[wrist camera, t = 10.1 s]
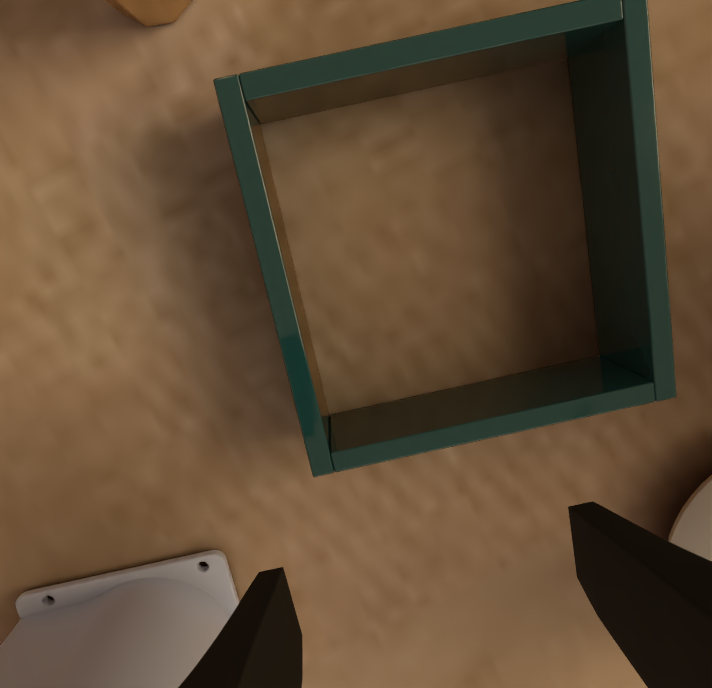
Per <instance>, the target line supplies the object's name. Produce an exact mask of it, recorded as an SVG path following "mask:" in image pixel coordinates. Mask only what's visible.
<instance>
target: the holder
mask: <svg viewBox="0 0 712 688" xmlns="http://www.w3.org/2000/svg"><path fill="white" fill-rule="evenodd" d="M567 57H568V64H569V73H570V83H571V92H572V101H573V111H574V120H575V129H576V139H577V148H578V157H579V167H580V176H581V185H582V195H583V204H584V213H585V222H586V232H587V241H588V250H589V260H590V269H591V278H592V288H593V297H594V306H595V316H596V325H597V334H598V344H599V353H600V356H596V357H591V358H587V359H582V360H578V361H573V362H569V363H564V364H560V365H555V366H550V367H546V368H541V369H537V370H532V371H528V372H523V373H519V374H514V375H510V376H505V377H500V378H496V379H491V380H487V381H482V382H478V383H473V384H469V385H464V386H460V387H455V388H450V389H446V390H441V391H437V392H432V393H428V394H423V395H419V396H414V397H410V398H405V399H400V400H396V401H391V402H387V403H382V404H378V405H373V406H369V407H364V408H360V409H355V410H350V411H346V412H341V413H337V414H332V415H330V416H329V412H328V408H327V404H326V399H325V395H324V391H323V387H322V383H321V378H320V374H319V370H318V366H317V361H316V357H315V353H314V349H313V345H312V340H311V336H310V332H309V328H308V324H307V319H306V315H305V311H304V307H303V302H302V298H301V294H300V290H299V286H298V281H297V277H296V273H295V269H294V265H293V260H292V256H291V252H290V248H289V243H288V239H287V235H286V231H285V227H284V222H283V218H282V214H281V210H280V206H279V201H278V197H277V193H276V189H275V184H274V180H273V176H272V172H271V168H270V163H269V159H268V155H267V151H266V147H265V142H264V138H263V134H262V130H261V125H260V124H264V123H269V122H273V121H278V120H283V119H287V118H292V117H297V116H301V115H306V114H310V113H315V112H320V111H324V110H329V109H334V108H338V107H343V106H347V105H352V104H357V103H361V102H366V101H371V100H375V99H380V98H385V97H389V96H394V95H398V94H403V93H408V92H412V91H417V90H422V89H426V88H431V87H435V86H440V85H445V84H449V83H454V82H459V81H463V80H468V79H472V78H477V77H482V76H486V75H491V74H496V73H500V72H505V71H509V70H514V69H519V68H523V67H528V66H533V65H537V64H542V63H547V62H551V61H556V60H560V59H565V58H567ZM213 82H214V86H215V90H216V94H217V98H218V102H219V106H220V110H221V114H222V118H223V122H224V126H225V130H226V134H227V138H228V142H229V146H230V150H231V154H232V158H233V162H234V165H235V169H236V173H237V177H238V181H239V185H240V189H241V193H242V197H243V201H244V205H245V209H246V213H247V217H248V221H249V225H250V229H251V233H252V237H253V241H254V245H255V249H256V253H257V257H258V261H259V265H260V269H261V273H262V276H263V280H264V284H265V288H266V292H267V296H268V300H269V304H270V308H271V312H272V316H273V320H274V324H275V328H276V332H277V336H278V340H279V344H280V348H281V352H282V356H283V360H284V364H285V368H286V372H287V376H288V380H289V384H290V387H291V391H292V395H293V399H294V403H295V407H296V411H297V415H298V419H299V423H300V427H301V431H302V435H303V439H304V443H305V447H306V451H307V455H308V459H309V463H310V467H311V471H312V475H313V477H317V476H322V475H326V474H331V473H334V471H335V472H339V471H344V470H348V469H353V468H358V467H362V466H367V465H371V464H376V463H380V462H385V461H389V460H394V459H398V458H403V457H407V456H412V455H416V454H421V453H426V452H430V451H435V450H439V449H444V448H448V447H453V446H457V445H462V444H466V443H471V442H475V441H480V440H484V439H489V438H494V437H498V436H503V435H507V434H512V433H516V432H521V431H525V430H530V429H534V428H539V427H543V426H548V425H552V424H557V423H561V422H566V421H571V420H575V419H580V418H584V417H589V416H593V415H598V414H602V413H607V412H611V411H616V410H620V409H625V408H629V407H634V406H639V405H643V404H648V403H652V402H655V401H662V400H666V399H671V398H675V397H676V396H677V394H676V381H675V367H674V354H673V340H672V326H671V313H670V299H669V286H668V272H667V258H666V245H665V231H664V218H663V204H662V191H661V177H660V163H659V150H658V136H657V123H656V109H655V95H654V82H653V68H652V55H651V41H650V27H649V14H648V0H579V1H574V2H570V3H565V4H560V5H556V6H551V7H546V8H542V9H537V10H532V11H528V12H523V13H518V14H514V15H509V16H505V17H500V18H495V19H491V20H486V21H481V22H477V23H472V24H467V25H463V26H458V27H453V28H449V29H444V30H440V31H435V32H430V33H426V34H421V35H416V36H412V37H407V38H402V39H398V40H393V41H388V42H384V43H379V44H374V45H370V46H365V47H361V48H356V49H351V50H347V51H342V52H337V53H333V54H328V55H323V56H319V57H314V58H309V59H305V60H300V61H296V62H291V63H286V64H282V65H277V66H272V67H268V68H263V69H258V70H254V71H249V72H244V73H240V74H239V76H238V75H237V74H235V75H231V76H226V77H221V78H217V79H214V81H213Z"/></svg>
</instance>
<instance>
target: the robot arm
mask: <svg viewBox="0 0 712 688" xmlns="http://www.w3.org/2000/svg"><path fill="white" fill-rule="evenodd" d="M568 509H569V517H570V525H571V533H572V541H573V549H574V557H575V565H576V573H577V578H578V580H579V582H580V584H581V586H582V588H583V589H584V591H585V593H586V595H587V597H588V599H589V601H590V603H591V604H592V606H593V608H594V610H595V612H596V614H597V615H598V617H599V618H600V620H601V621H602V623H603V624H604V626H605V627H606V629H607V630H608V631H609V633H610V634H611V636H612V637H613V639H614V640H615V642H616V643H617V644H618V646H619V647H620V649H621V650H622V652H623V653H624V654H625V656H626V657H627V659H628V660H629V662H630V663H631V664H632V666H633V667H634V669H635V670H636V671H637V673H638V674H639V676H640V677H641V679H642V680H643V681H644V683H645V684H646V686H647V687H648V688H712V561H710V560H708V559H705V558H703V557H701V556H699V555H697V554H694V553H692V552H690V551H688V550H686V549H683V548H681V547H679V546H677V545H675V544H673V543H671V542H669V541H667V540H665V539H663V538H661V537H659V536H657V535H655V534H653V533H651V532H649V531H647V530H646V529H644V528H642V527H640V526H638V525H636V524H634V523H632V522H630V521H629V520H627V519H625V518H623V517H621V516H619V515H617V514H616V513H614V512H612V511H610V510H608V509H606V508H604V507H603V506H601V505H599V504H597V503H595V502H588V503H583V504H579V505H574V506H569V507H568ZM199 562H206V563H207V564H208V566H202V565H200V564H199ZM47 596H51V597H53V599H54V600H51V599H49V598H48V597H47ZM15 605H16V609H17V611H18V614H19V616H20V618H21V619H20V621H19V622H18V623H17V625H16V626H15V627H14V628H13V630H12V631H11V632H10V634H9V635H8V636H7V637H6V639H5V640H4V641H3V643H2V644H1V645H0V688H301V687H302V633H301V629H300V626H299V622H298V619H297V615H296V611H295V608H294V604H293V601H292V597H291V594H290V590H289V587H288V583H287V580H286V576H285V572H284V569H283V567H281V568H276V569H272V570H267V571H262V572H259V573H258V575H257V576H256V577H255V579H254V581H253V582H252V584H251V585H250V587H249V588H248V590H247V591H246V593H245V595H244V596H243V598H242V599H241V601H239V598H238V595H237V591H236V588H235V585H234V582H233V578H232V575H231V572H230V568H229V565H228V562H227V559H226V556H225V554H224V553H223V552H221V551H219V550H210V551H205V552H201V553H196V554H192V555H187V556H183V557H178V558H174V559H169V560H165V561H160V562H156V563H151V564H147V565H142V566H137V567H133V568H128V569H124V570H119V571H115V572H110V573H106V574H101V575H97V576H92V577H88V578H83V579H79V580H74V581H70V582H65V583H61V584H56V585H52V586H47V587H43V588H38V589H34V590H29V591H26V592H23V593H22V594H21V595H20V596H19V597H18V599H17V600H16V603H15Z"/></svg>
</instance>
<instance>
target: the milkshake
mask: <svg viewBox="0 0 712 688" xmlns="http://www.w3.org/2000/svg"><path fill="white" fill-rule="evenodd" d="M104 1H105V2H107V3H108V4H109V5H111V6H112V7H113V8H114V9H116V10H117V11H118V12H120V13H122V14H124V15H126V16H128V17H130V18H132V19H133V20H135V21H137V22H139V23H141V24H143V25H145V26H147V27H149V26H154V25H160V24H166V23H172V22H175V21H176V20H177V19H178V18H179V16H180V15H181V14H182V13H183V11H184V10H185V9H186V8H187V7H188V5H189V4H190V3H191V2H192V1H193V0H104Z"/></svg>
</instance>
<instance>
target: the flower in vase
mask: <svg viewBox="0 0 712 688" xmlns="http://www.w3.org/2000/svg"><path fill="white" fill-rule="evenodd" d="M668 541H669V542H671V543H673V544H675V545H677V546H679V547H681V548H683V549H686V550H688V551H690V552H692V553H694V554H697V555H699V556H701V557H703V558H705V559H708V560H710V561H712V475H711V476H710V477H708V478H707V479H706V480H705V481H704V482H703V483H702V484H701V485H700V486H699V487H698V488H697V489H696V490H695V492H694V493H693V494H692V495H691V496H690V498H689V499H688V500H687V502H686V503H685V505H684V506H683V507H682V509H681V511H680V513H679V514H678V516H677V518H676V520H675V522H674V525H673V527H672V530H671V532H670V535H669V538H668Z"/></svg>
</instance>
